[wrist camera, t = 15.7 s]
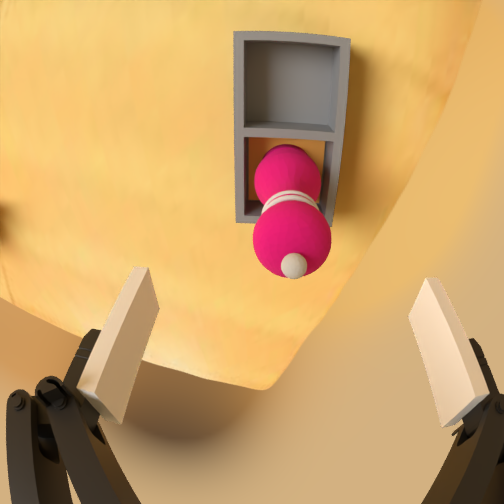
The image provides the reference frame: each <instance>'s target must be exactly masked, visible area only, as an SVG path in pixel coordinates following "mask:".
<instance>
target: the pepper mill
mask: <svg viewBox="0 0 504 504" xmlns="http://www.w3.org/2000/svg"><path fill="white" fill-rule="evenodd" d="M254 184H255V190H256V193H257V196H258V198H259V199H260V201H261V202H262V204H263V205H264V207H263V209H262V214H261V216H260V217H259V219H258V220H257V223H256V225H255V227H254V232H253V246H254V250H255V253H256V255H257V257H258V259H259V261H260V262H261V263H262V265H263V266H264V267H265V268H266V269H268V270H269V271H271V272H272V273H274V274H276V275H279V276H281V277H286V278H290V279H298V278H300V277H302V276H306V275H308V274H311V273H312V272H314V271H316V270H317V269H318V268H319V267H320V266H321V265H322V264H323V263H324V262H325V260H326V259H327V256H328V254H329V252H330V249H331V230H330V227H329V224H328V222H327V220H326V219H325V217H324V215H323V214H322V213H321V212H320V211H319V208H318V206H317V204H316V203H315V202H316V200H317V198H318V196H319V193H320V188H321V178H320V172H319V170H318V167H317V166H316V164H315V162H314V161H313V160H312V159H311V158H310V157H309V156H308V154H307V153H306V152H305V151H304V150H303V149H301V148H300V147H297V146H295V145H291V144H281V145H277V146H275V147H273V148H271V149H270V150H269V151H268V152H267V153H266V154H265V155H264V157H263V159H262V161H261V162H260V164H259V165H258V167H257V169H256V172H255V179H254Z"/></svg>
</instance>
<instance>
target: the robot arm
mask: <svg viewBox="0 0 504 504" xmlns="http://www.w3.org/2000/svg"><path fill="white" fill-rule="evenodd" d="M158 312H159V305H158V302H157V298H156V294H155V291H154V287H153V283H152V279H151V276H150V272H149V268H148V267H133V269H132V271H131V273H130V274H129V276H128V278H127V280H126V282H125V284H124V286H123V288H122V290H121V292H120V294H119V296H118V298H117V300H116V301H115V303H114V305H113V308H112V310H111V312H110V314H109V316H108V318H107V320H106V322H105V324H104V326H103V328H102V330H96V329H91V330H90V331H89V332H88V333H87V334H86V335H85V336H84V337H83V339H82V342H81V344H80V346H79V349H78V350H77V352H76V354H75V357H74V358H73V361H72V363H71V365H70V367H69V369H68V372H67V374H66V376H65V378H64V381H63V382H62V381H61V380H60V379H58V378H57V377H54V376H49V377H45V378H44V379H42V380H41V381H40V382H39V383H38V384H37V386H36V389H35V396H30V395H29V394H28V393H27V392H26V391H25V390H16V391H14V392H13V393H12V394H10V396H9V398H8V401H7V410H6V411H7V412H6V446H7V465H8V477H9V486H10V494H11V501H12V504H73V502H72V498H71V493H70V488H69V483H68V477H67V472H68V475H69V477H70V479H71V482H72V484H73V486H74V489H75V491H76V493H77V495H78V497H79V500H80V502H81V504H141V503H140V501H139V499H138V498H137V496H136V494H135V493H134V491H133V489H132V487H131V486H130V484H129V482H128V480H127V479H126V477H125V475H124V473H123V471H122V469H121V468H120V466H119V464H118V462H117V460H116V458H115V456H114V454H113V452H112V450H111V448H110V446H109V443H108V442H107V439H106V437H105V435H104V433H103V430H102V428H101V426H100V424H99V422H98V419H99V416H100V415H101V416H102V418H104V419H105V420H106V421H110V422H114V423H117V424H122V421H123V417H124V413H125V411H126V407H127V404H128V401H129V397H130V394H131V390H132V387H133V385H134V381H135V378H136V375H137V372H138V369H139V366H140V363H141V360H142V357H143V354H144V351H145V348H146V345H147V343H148V340H149V337H150V334H151V331H152V328H153V325H154V323H155V320H156V317H157V314H158ZM408 318H409V321H410V323H411V326H412V329H413V332H414V335H415V338H416V341H417V344H418V346H419V350H420V353H421V356H422V359H423V362H424V365H425V369H426V372H427V375H428V379H429V382H430V385H431V389H432V393H433V396H434V400H435V404H436V408H437V412H438V416H439V420H440V424H441V428H443V427H448V426H451V425H455V424H456V423H457V422H459V421H460V420H461V419H462V420H463V423H464V424H462V425H461V426H460V427H459V428H458V429H456V430H455V431H454V432H453V433H452V436H454V435H455V434H456V433H458V434H457V436H456V439H455V441H454V443H453V445H452V447H451V450H450V452H449V454H448V456H447V458H446V460H445V462H444V464H443V466H442V468H441V470H440V472H439V474H438V476H437V477H436V479H435V481H434V483H433V485H432V487H431V488H430V490H429V492H428V493H427V495H426V497H425V498H424V500H423V502H422V503H421V504H504V394H500V393H499V391H498V389H497V386H496V383H495V381H494V378H493V375H492V373H491V370H490V368H489V366H488V365H487V361H486V358H484V354H483V351H482V349H481V346H480V345H479V344H478V343H477V342H476V340H475V339H474V338H472V339H468V337H467V335H466V333H465V330H464V328H463V326H462V324H461V322H460V320H459V318H458V315H457V313H456V311H455V309H454V307H453V305H452V303H451V301H450V300H449V297H448V295H447V294H446V291H445V290H444V288H443V286H442V284H441V282H440V280H439V278H429V277H428V278H425V281H424V283H423V285H422V287H421V290H420V292H419V294H418V297H417V298H416V301H415V303H414V305H413V307H412V309H411V311H410V313H409V316H408ZM66 470H67V472H66Z"/></svg>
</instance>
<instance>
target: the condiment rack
mask: <svg viewBox="0 0 504 504" xmlns="http://www.w3.org/2000/svg"><path fill="white" fill-rule="evenodd" d="M350 42H351V39H349V38H342V37H335V36H327V35H318V34H307V33H294V32H274V31H234V155H235V207H236V223H257V220H258V219H259V217H260V216H261V214H262V209H263V207H264V205H263V204H262V202H261V201H260V199H259V198H258V196H257V193H256V190H255V184H254V179H255V172H256V169H257V167H258V165H259V164H260V162H261V161H262V159H263V157H264V155H265V154H266V153H267V152H268V151H269V150H270V149H271V148H273V147H275V146H277V145H281V144H291V145H295V146H297V147H300V148H301V149H303V150H304V151H305V152H306V153H307V154H308V156H309V157H310V158H311V159H312V160H313V161H314V162H315V164H316V166H317V167H318V170H319V172H320V178H321V188H320V193H319V196H318V198H317V200H316V202H315V203H316V204H317V206H318V208H319V211H320V212H321V213H322V214H323V215H324V217H325V219H326V220H327V222H328V224H329V227H332V221H333V215H334V208H335V201H336V195H337V187H338V180H339V172H340V164H341V156H342V147H343V138H344V128H345V118H346V106H347V94H348V80H349V64H350Z"/></svg>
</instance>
